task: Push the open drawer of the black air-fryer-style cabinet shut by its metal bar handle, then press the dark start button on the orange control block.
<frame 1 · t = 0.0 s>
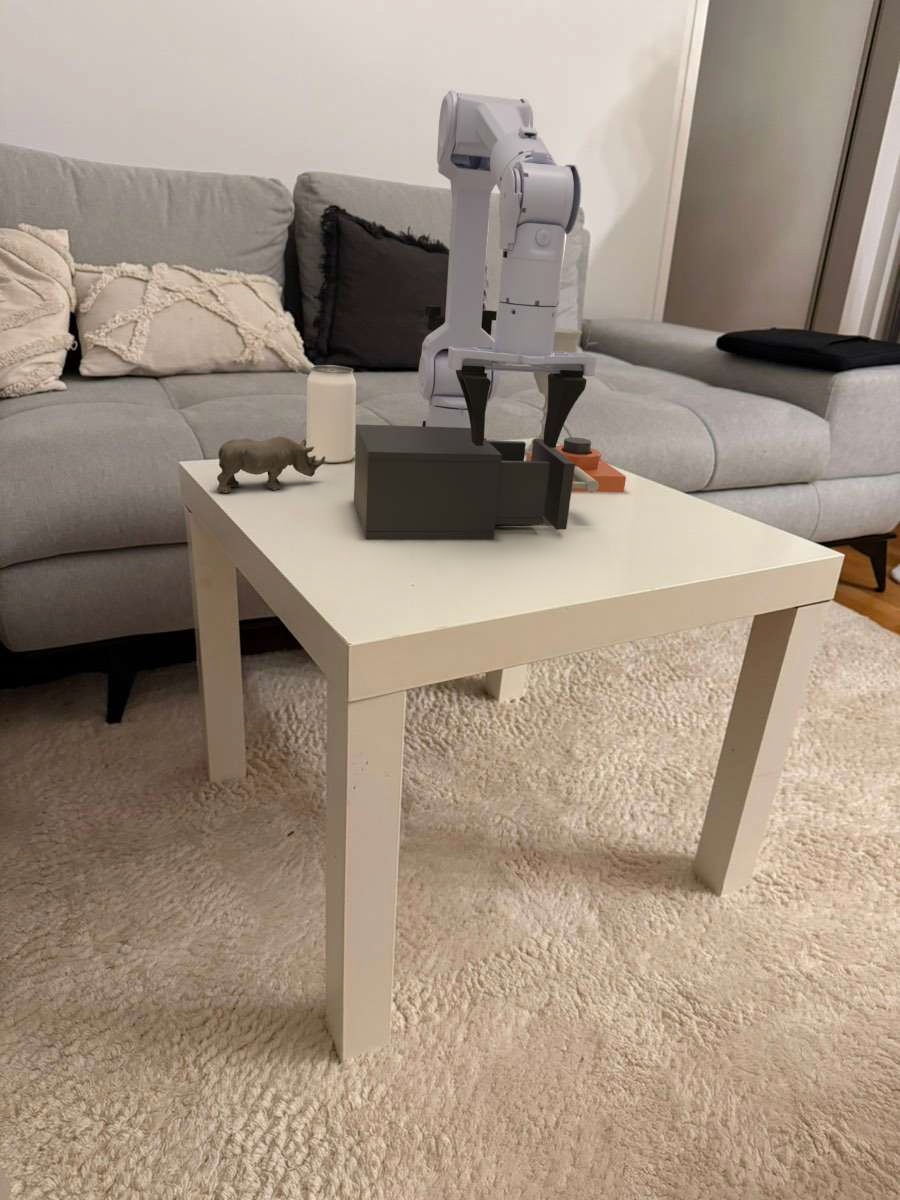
hand: (513, 444, 86), 10 cm above the table, tool pointing down, fingers open, 7 cm apart
chalice: (542, 455, 128), on the table
cabinet: (420, 520, 94), on the table
control block: (572, 479, 115), on the table
can: (330, 459, 117), on the table
drawer: (518, 481, 95), point 5 cm above the table, slide at 7.0 cm
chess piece: (450, 452, 125), on the table, touching arm
start button: (576, 446, 114), point 5 cm above the table, slide at 0.2 cm
rhino figurine: (272, 487, 102), on the table
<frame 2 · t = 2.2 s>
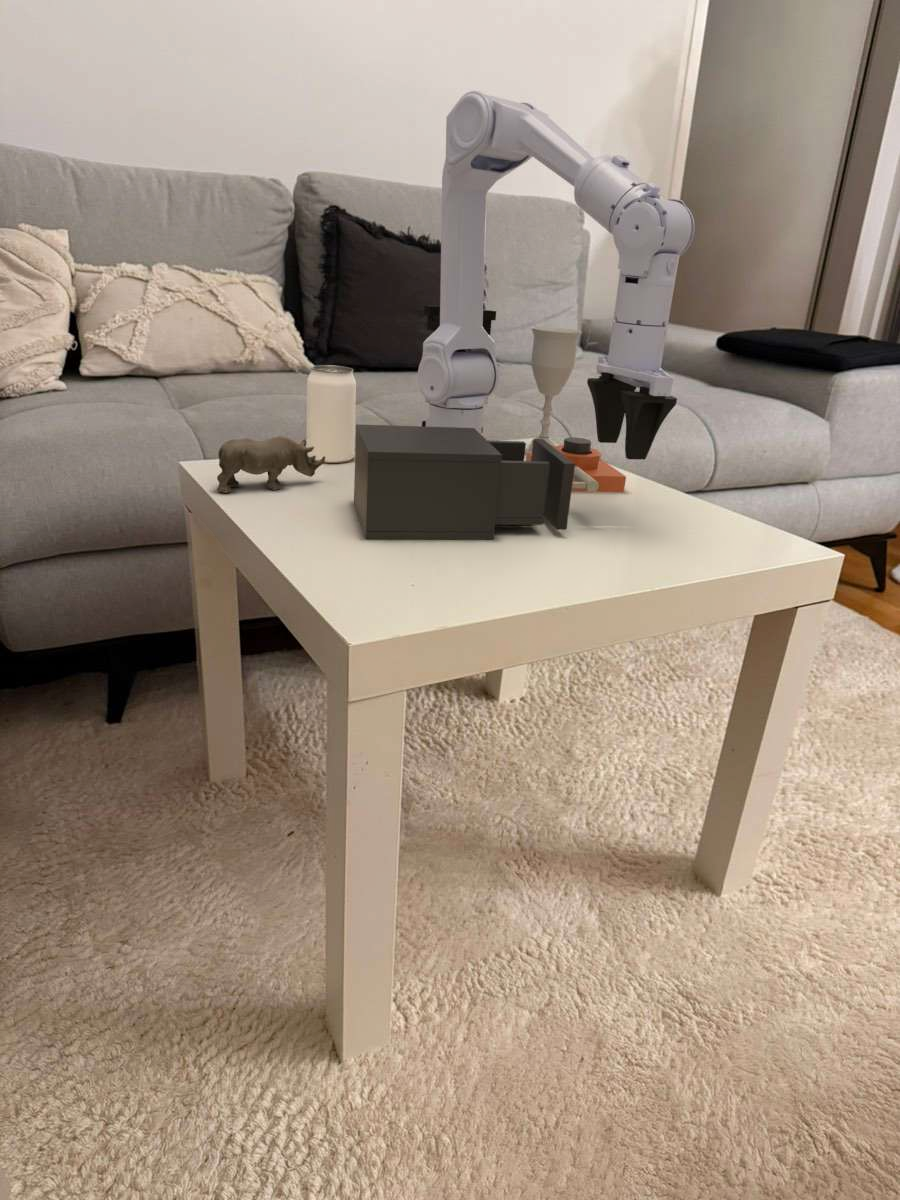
hand: (620, 450, 95), 9 cm above the table, tool pointing down, fingers open, 7 cm apart
nothing on the table moved.
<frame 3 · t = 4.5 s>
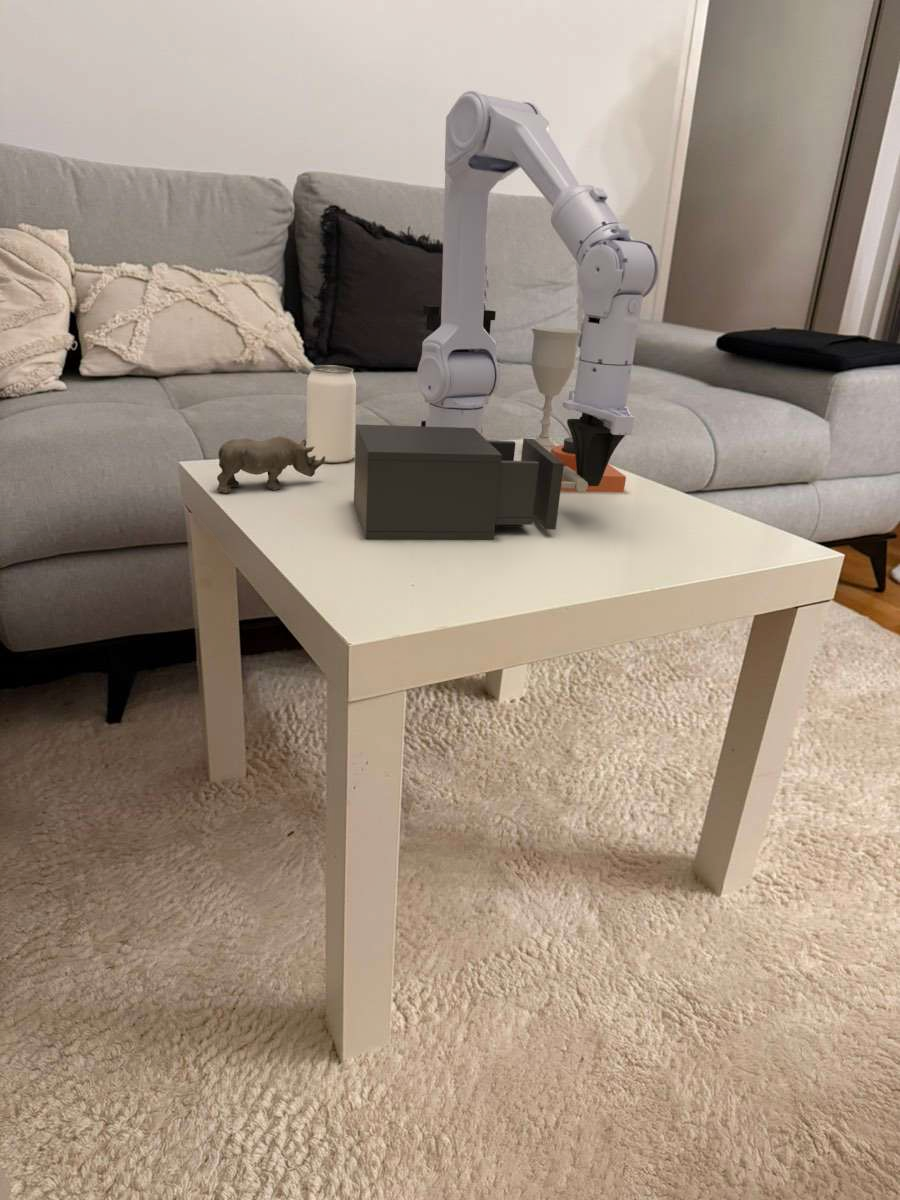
hand: (588, 484, 96), 4 cm above the table, tool pointing down, fingers closed, pressing on drawer
drawer: (507, 481, 94), point 5 cm above the table, slide at 5.8 cm, touching gripper
everything else where it was.
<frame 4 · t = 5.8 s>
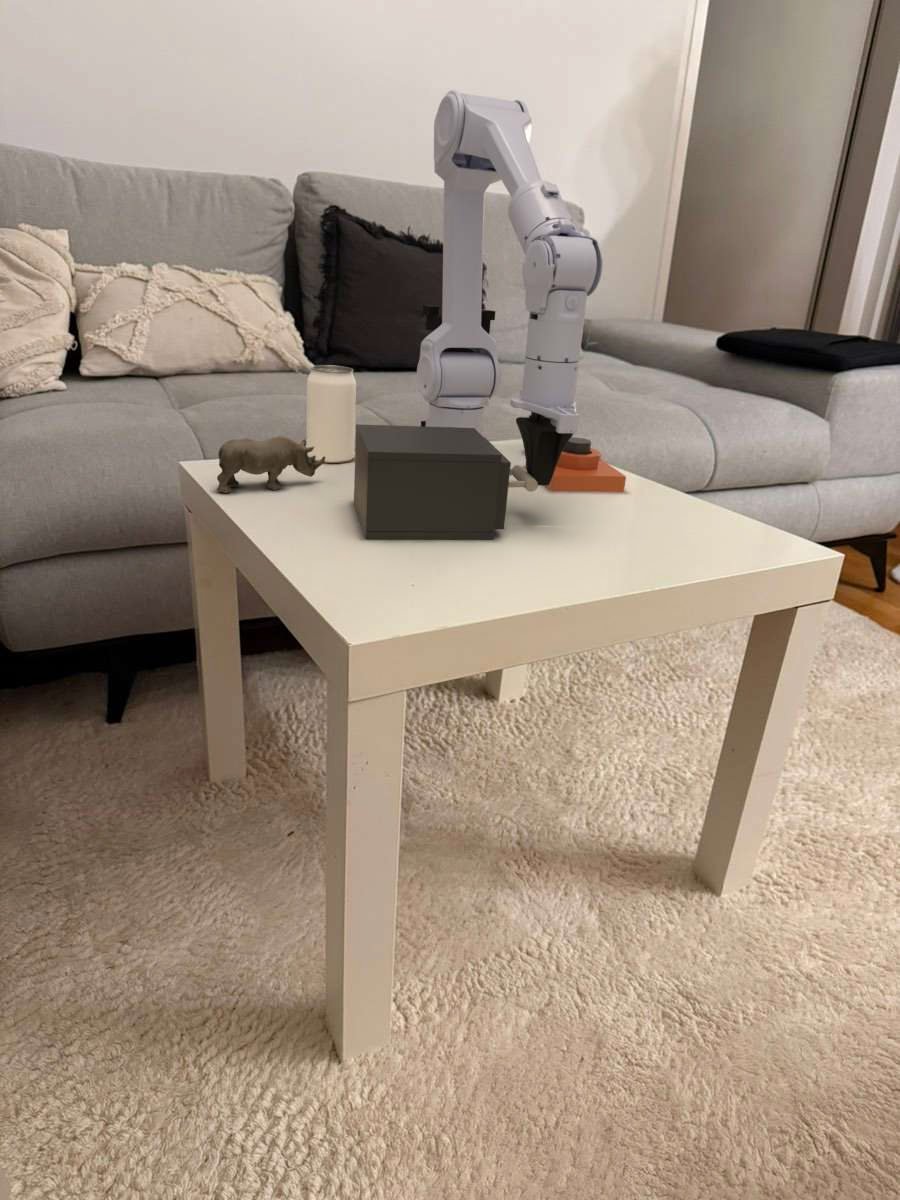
hand: (538, 483, 95), 4 cm above the table, tool pointing down, fingers closed, pressing on drawer
drawer: (457, 480, 93), point 5 cm above the table, slide at 0.0 cm, touching cabinet, gripper
everything else where it was.
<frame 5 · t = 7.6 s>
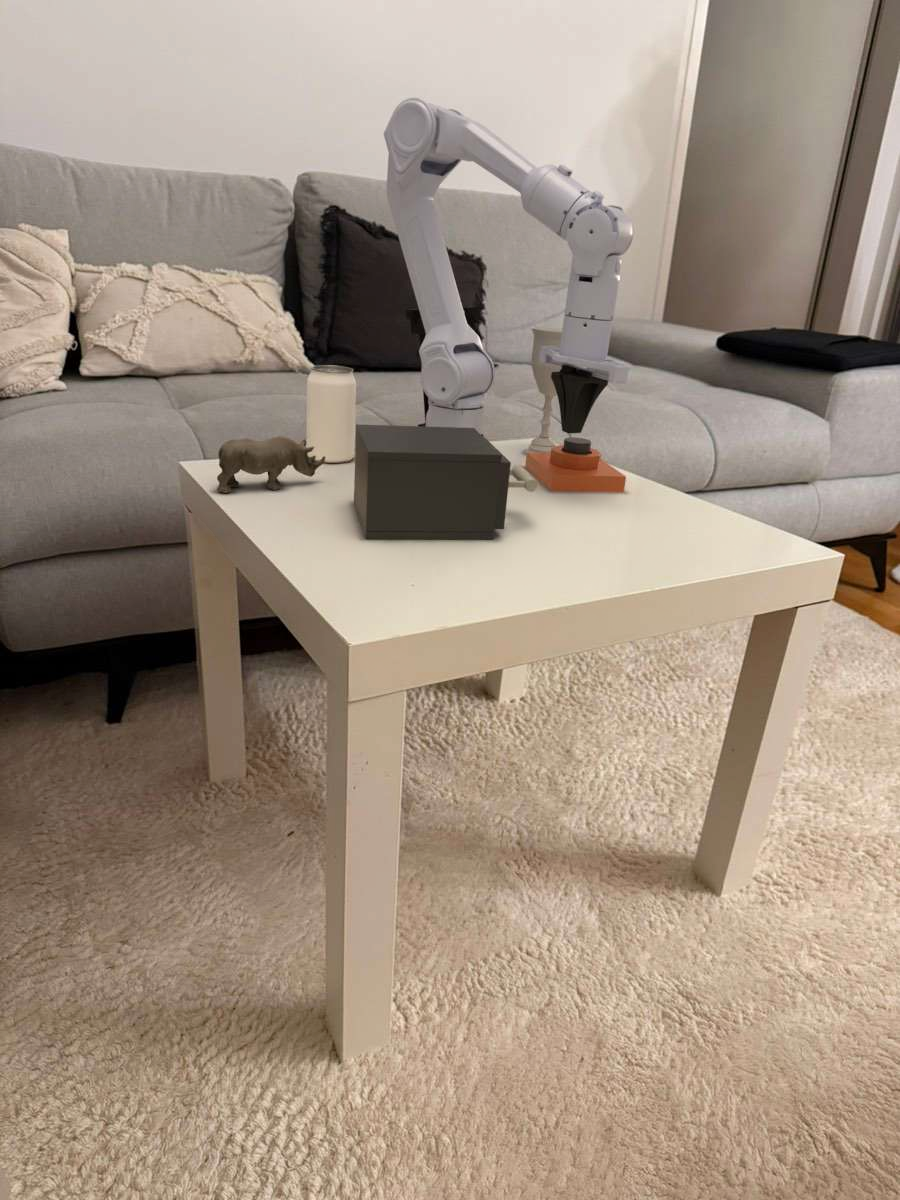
hand: (571, 432, 105), 8 cm above the table, tool pointing down, fingers closed
drawer: (457, 480, 93), point 5 cm above the table, slide at 0.0 cm
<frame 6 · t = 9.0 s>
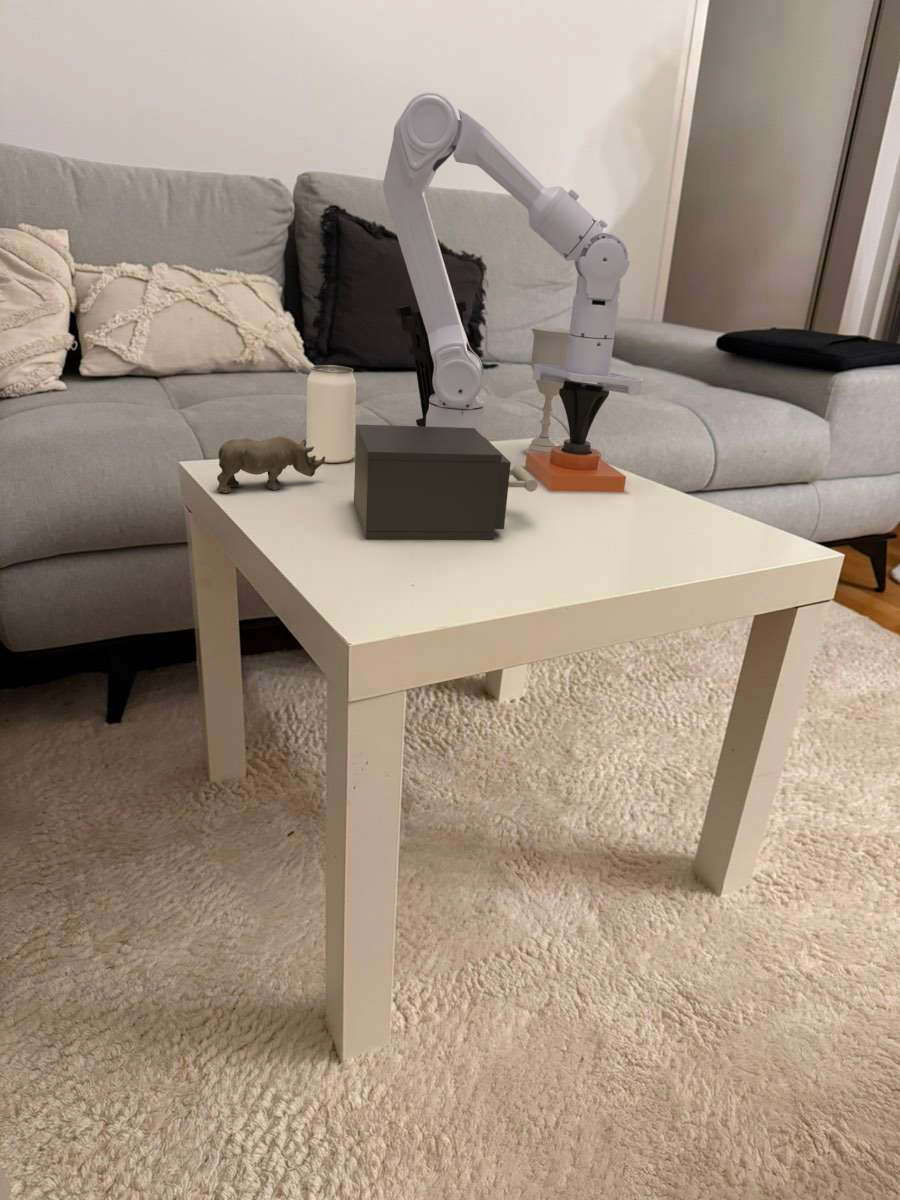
hand: (577, 442, 113), 5 cm above the table, tool pointing down, fingers closed, pressing on start button
start button: (576, 448, 114), point 4 cm above the table, slide at -0.1 cm, touching gripper
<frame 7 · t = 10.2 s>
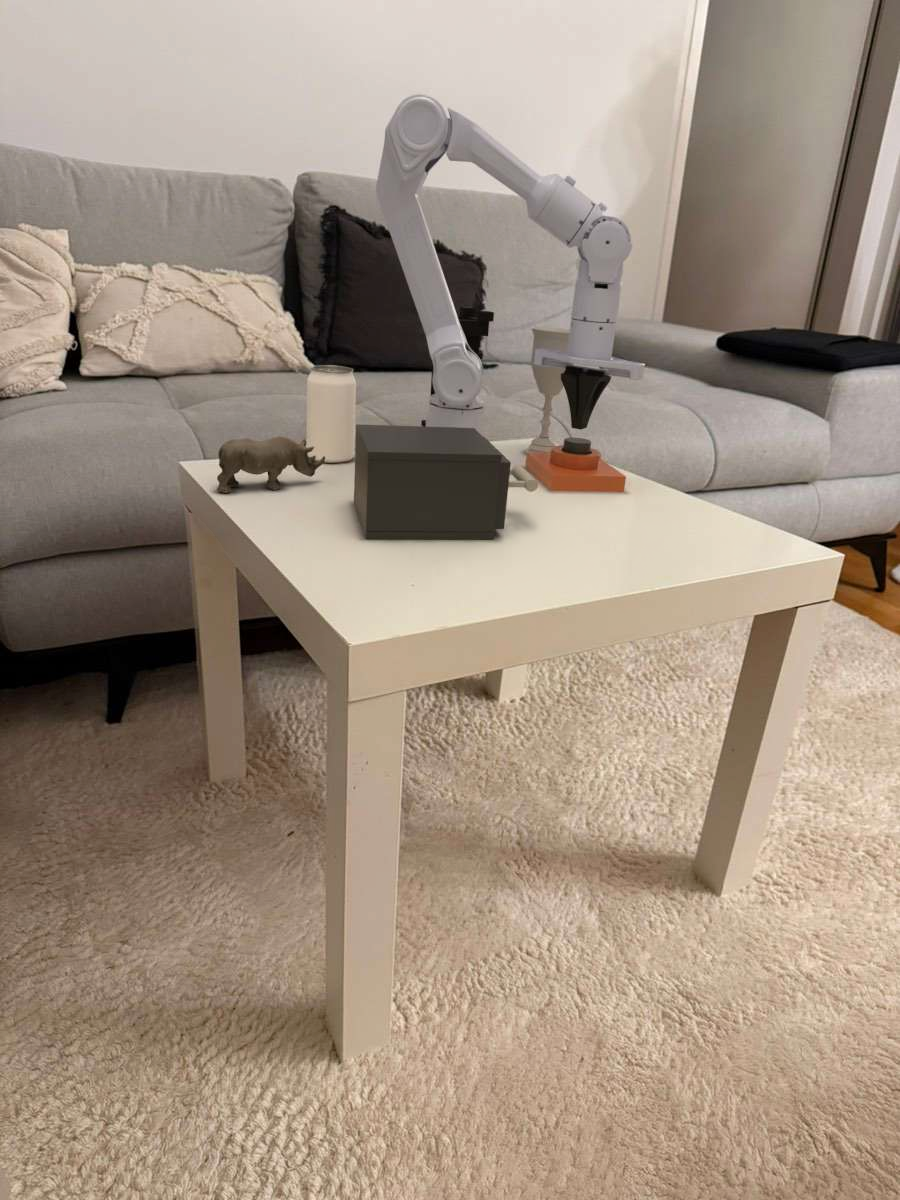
hand: (579, 427, 113), 7 cm above the table, tool pointing down, fingers closed
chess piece: (448, 452, 125), on the table
start button: (576, 446, 114), point 5 cm above the table, slide at 0.2 cm
everything else where it was.
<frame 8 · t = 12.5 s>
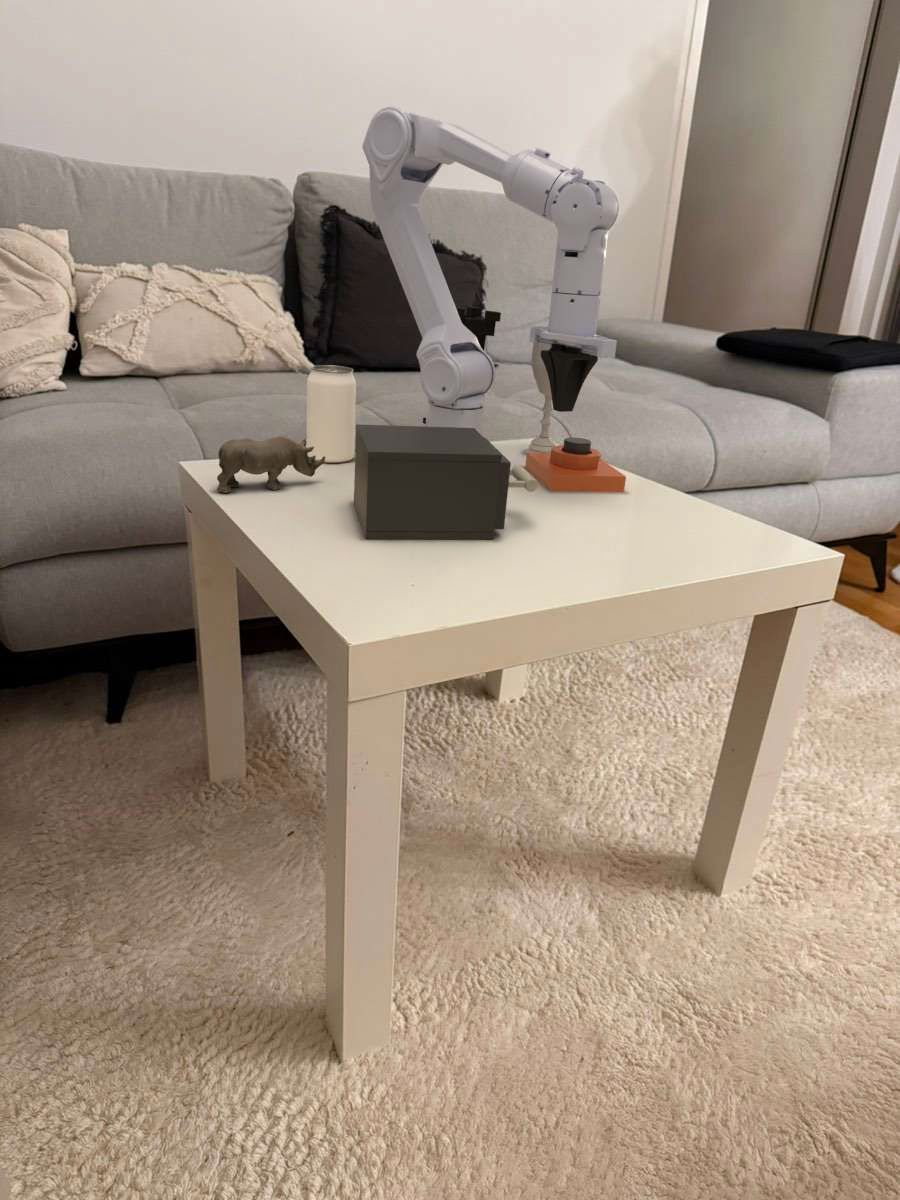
hand: (562, 410, 105), 10 cm above the table, tool pointing down, fingers closed
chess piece: (448, 451, 125), on the table, touching arm
everything else where it was.
at the end: drawer slide at 0.0 cm; start button pushed in 1.2 cm at the most during the clip, back to 0.2 cm at the end; start button slide at 0.2 cm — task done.
